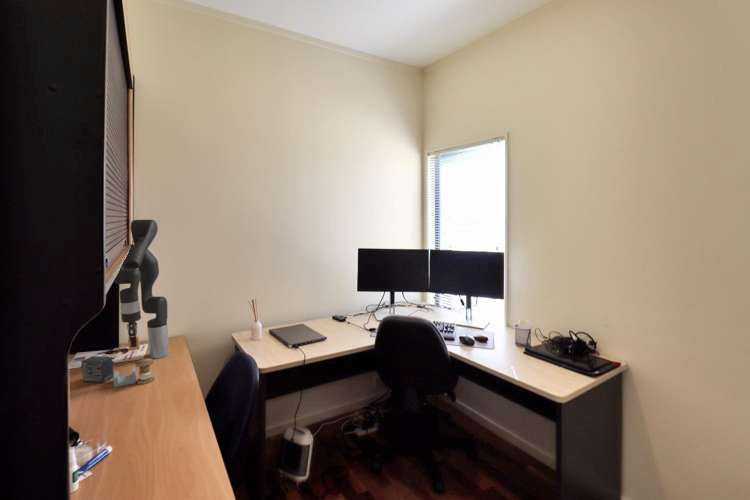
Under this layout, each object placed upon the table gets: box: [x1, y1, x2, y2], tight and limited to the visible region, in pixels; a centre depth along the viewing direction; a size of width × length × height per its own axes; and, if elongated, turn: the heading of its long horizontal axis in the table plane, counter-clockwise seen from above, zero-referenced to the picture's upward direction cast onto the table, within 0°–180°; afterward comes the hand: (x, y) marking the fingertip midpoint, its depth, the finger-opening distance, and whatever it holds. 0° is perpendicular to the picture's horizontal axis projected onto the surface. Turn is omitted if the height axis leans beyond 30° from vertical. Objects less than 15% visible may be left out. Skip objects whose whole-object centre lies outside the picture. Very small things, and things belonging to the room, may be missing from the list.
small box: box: [81, 355, 114, 384], centre depth 170 cm, size 11×6×10 cm, turn 84°
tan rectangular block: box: [127, 334, 140, 352], centre depth 169 cm, size 3×4×6 cm
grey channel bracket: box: [112, 366, 137, 388], centre depth 168 cm, size 8×8×4 cm
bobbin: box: [135, 357, 155, 385], centre depth 169 cm, size 7×7×10 cm
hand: (134, 345), depth 170 cm, fingers closed on tan rectangular block, 2 cm apart
